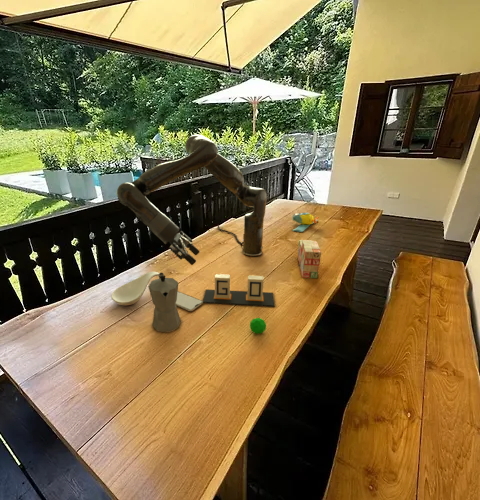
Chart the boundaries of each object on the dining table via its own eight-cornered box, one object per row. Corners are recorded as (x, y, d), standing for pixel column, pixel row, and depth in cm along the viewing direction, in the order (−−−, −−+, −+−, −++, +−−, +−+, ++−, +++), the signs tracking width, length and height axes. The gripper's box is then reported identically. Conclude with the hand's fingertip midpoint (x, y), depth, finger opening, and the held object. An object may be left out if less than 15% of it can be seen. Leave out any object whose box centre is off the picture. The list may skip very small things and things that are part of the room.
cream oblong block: (215, 293, 115) (215, 273, 112) (229, 294, 115) (230, 274, 111) (214, 298, 112) (214, 277, 109) (229, 298, 112) (229, 278, 109)
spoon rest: (125, 314, 105) (122, 296, 103) (106, 302, 112) (103, 285, 110) (173, 287, 122) (172, 271, 119) (154, 279, 129) (153, 264, 126)
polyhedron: (254, 325, 98) (255, 312, 96) (268, 331, 95) (269, 318, 93) (246, 332, 94) (247, 320, 93) (260, 339, 91) (261, 326, 90)
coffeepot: (183, 334, 95) (180, 283, 88) (153, 338, 93) (148, 288, 86) (177, 307, 108) (174, 262, 101) (150, 311, 107) (146, 265, 100)
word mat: (202, 303, 111) (202, 301, 110) (205, 290, 119) (205, 289, 119) (274, 306, 107) (274, 305, 107) (272, 293, 116) (272, 292, 115)
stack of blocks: (297, 257, 147) (299, 233, 142) (310, 258, 146) (313, 234, 141) (302, 277, 127) (305, 251, 123) (317, 278, 126) (321, 251, 121)
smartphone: (173, 289, 119) (203, 301, 110) (174, 291, 119) (203, 302, 111) (160, 297, 113) (191, 310, 105) (160, 299, 114) (191, 312, 105)
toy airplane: (309, 219, 174) (284, 216, 183) (308, 233, 177) (284, 229, 186) (325, 209, 194) (302, 206, 203) (323, 221, 197) (301, 218, 206)
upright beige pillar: (247, 295, 114) (248, 275, 111) (261, 295, 113) (263, 275, 110) (247, 299, 111) (248, 279, 108) (262, 300, 110) (263, 280, 107)
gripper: (165, 226, 98) (200, 259, 101) (174, 214, 111) (205, 244, 114) (150, 241, 101) (185, 273, 104) (161, 228, 114) (192, 256, 117)
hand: (196, 258), depth 109 cm, fingers open, 8 cm apart
